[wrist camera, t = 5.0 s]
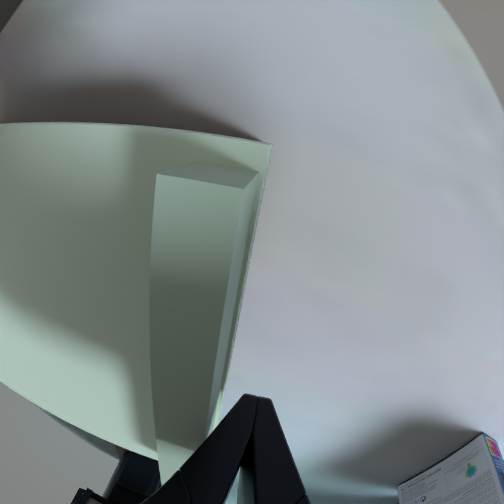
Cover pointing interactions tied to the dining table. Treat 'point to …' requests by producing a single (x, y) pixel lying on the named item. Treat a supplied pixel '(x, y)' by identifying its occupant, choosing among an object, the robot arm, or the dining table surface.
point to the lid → (125, 276)
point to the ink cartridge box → (460, 478)
